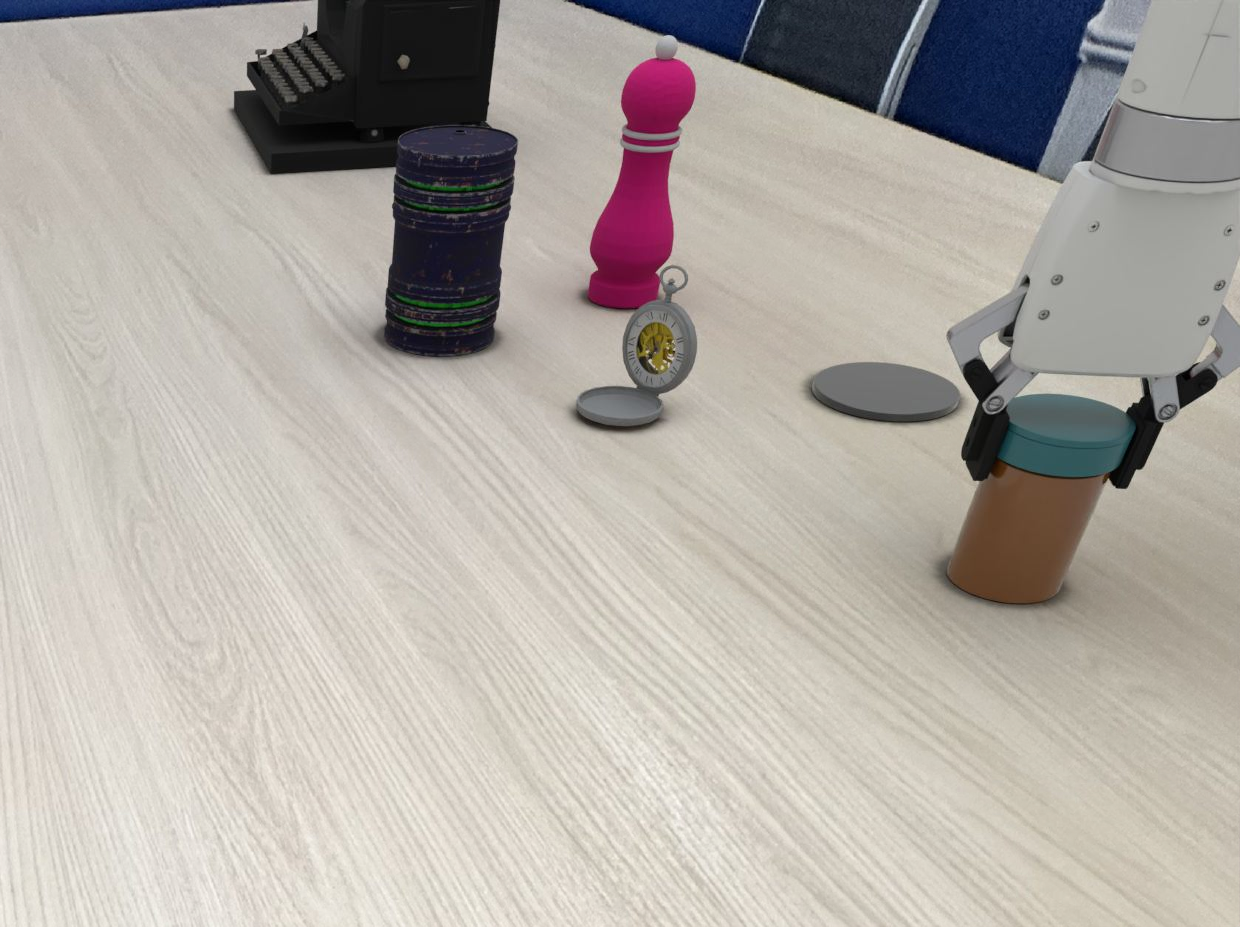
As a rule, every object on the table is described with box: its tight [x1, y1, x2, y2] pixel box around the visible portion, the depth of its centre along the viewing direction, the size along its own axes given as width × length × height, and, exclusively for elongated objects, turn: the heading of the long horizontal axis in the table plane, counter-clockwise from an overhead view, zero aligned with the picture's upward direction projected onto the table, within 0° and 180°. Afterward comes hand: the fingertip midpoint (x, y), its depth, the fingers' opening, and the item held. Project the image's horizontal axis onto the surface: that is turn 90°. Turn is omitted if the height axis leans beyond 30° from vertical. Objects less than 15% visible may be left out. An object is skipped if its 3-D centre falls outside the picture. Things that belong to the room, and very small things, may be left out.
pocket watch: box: [575, 264, 698, 427], centre depth 110 cm, size 8×8×10 cm
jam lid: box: [996, 393, 1136, 477], centre depth 87 cm, size 7×7×2 cm
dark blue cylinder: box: [383, 125, 519, 357], centre depth 121 cm, size 10×10×15 cm
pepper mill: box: [587, 34, 697, 310], centre depth 125 cm, size 7×7×20 cm
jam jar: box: [946, 456, 1111, 604], centre depth 90 cm, size 7×7×10 cm
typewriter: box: [233, 0, 501, 175], centre depth 167 cm, size 31×27×25 cm
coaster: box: [811, 361, 961, 423], centre depth 115 cm, size 11×11×1 cm
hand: (1044, 474), depth 88 cm, fingers closed on jam lid, 7 cm apart
